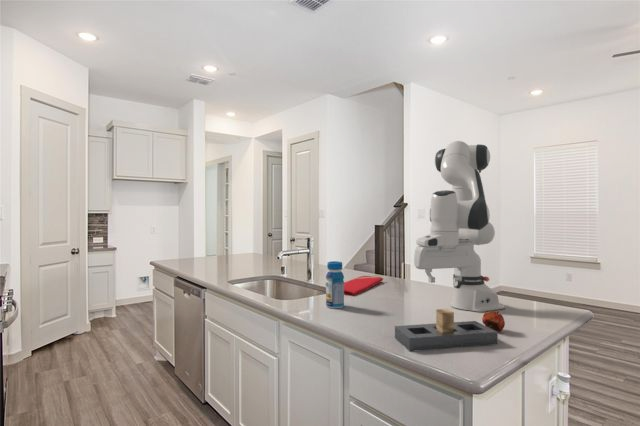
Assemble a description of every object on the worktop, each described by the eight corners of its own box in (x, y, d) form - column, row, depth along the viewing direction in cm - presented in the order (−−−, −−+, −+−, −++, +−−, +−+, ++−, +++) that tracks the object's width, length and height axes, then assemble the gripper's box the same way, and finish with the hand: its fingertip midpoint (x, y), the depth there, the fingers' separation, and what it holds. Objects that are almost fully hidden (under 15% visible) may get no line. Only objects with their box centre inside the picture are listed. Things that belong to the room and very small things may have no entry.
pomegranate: (500, 342, 126) (514, 320, 129) (489, 326, 124) (504, 305, 128) (482, 337, 132) (496, 317, 136) (472, 323, 131) (486, 303, 135)
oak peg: (447, 338, 123) (447, 308, 123) (453, 342, 119) (453, 312, 119) (436, 339, 122) (436, 309, 122) (442, 343, 118) (442, 312, 118)
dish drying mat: (327, 293, 193) (327, 286, 193) (360, 280, 228) (360, 274, 228) (353, 297, 185) (353, 289, 185) (383, 283, 220) (383, 277, 220)
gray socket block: (475, 332, 129) (475, 320, 129) (497, 344, 117) (497, 331, 117) (394, 337, 124) (394, 326, 124) (409, 351, 112) (409, 338, 112)
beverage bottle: (341, 309, 160) (341, 263, 160) (323, 307, 163) (322, 263, 163) (346, 304, 168) (346, 261, 168) (329, 303, 171) (329, 260, 170)
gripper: (467, 238, 125) (468, 278, 125) (411, 239, 122) (412, 281, 122) (478, 239, 119) (479, 281, 119) (420, 241, 115) (420, 285, 115)
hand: (445, 281), depth 120 cm, fingers open, 8 cm apart
